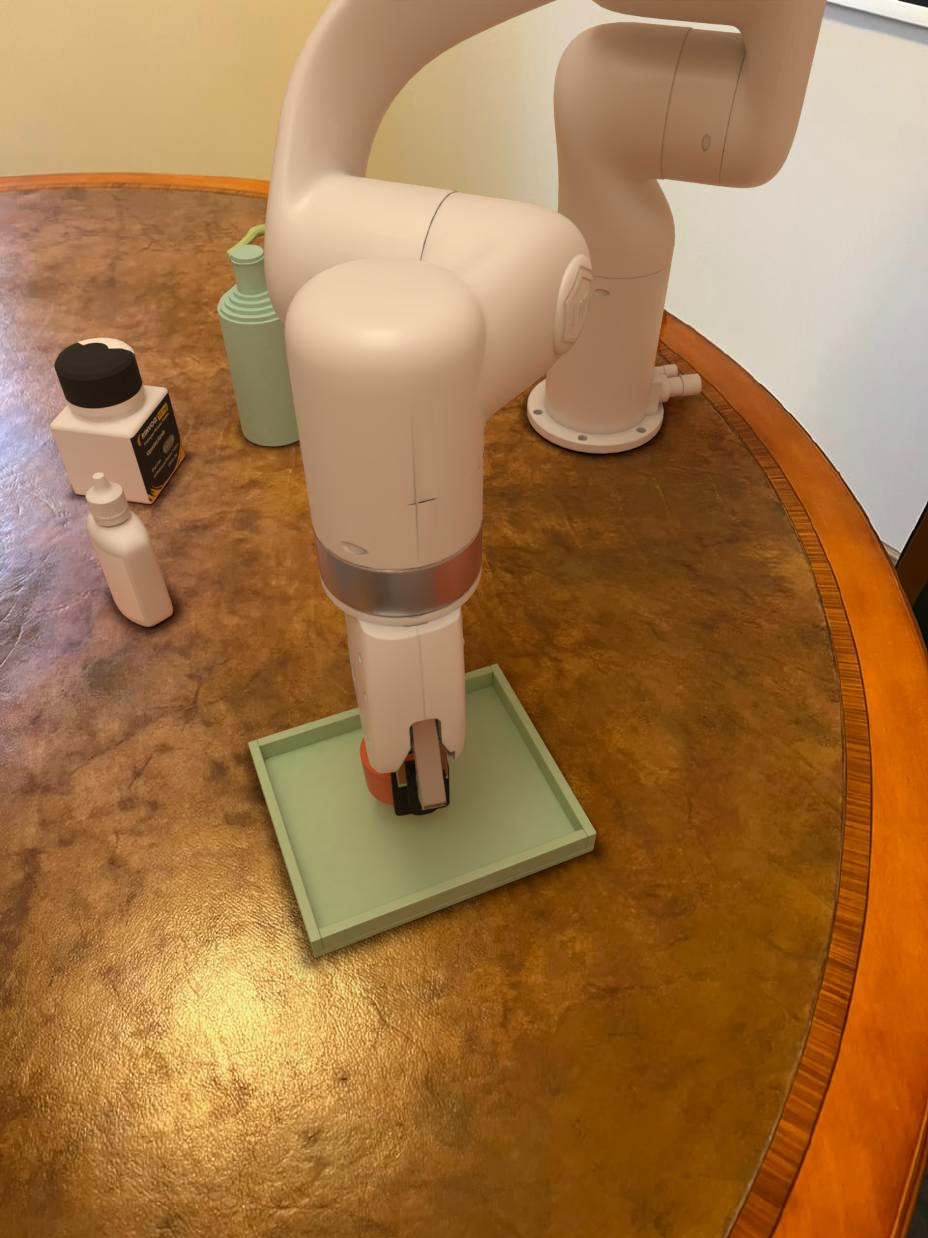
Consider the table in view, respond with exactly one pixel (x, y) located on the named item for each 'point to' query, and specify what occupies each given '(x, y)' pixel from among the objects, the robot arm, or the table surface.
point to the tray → (415, 819)
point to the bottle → (257, 353)
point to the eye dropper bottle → (126, 555)
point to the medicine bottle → (114, 421)
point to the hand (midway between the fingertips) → (414, 774)
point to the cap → (378, 778)
